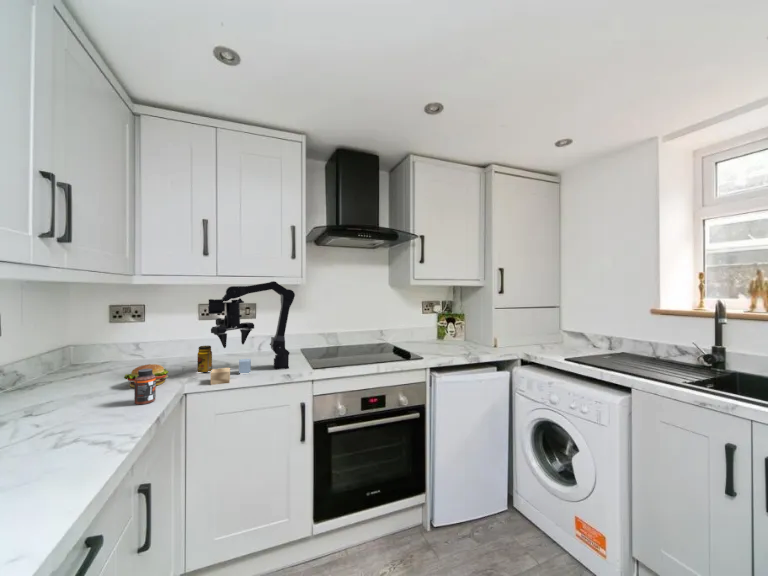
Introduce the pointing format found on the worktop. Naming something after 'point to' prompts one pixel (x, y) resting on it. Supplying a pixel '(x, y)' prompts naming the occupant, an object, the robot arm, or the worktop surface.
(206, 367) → the condiment
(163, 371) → the food
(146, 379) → the supplement bottle
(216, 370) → the tan block
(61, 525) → the worktop surface
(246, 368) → the blue block
